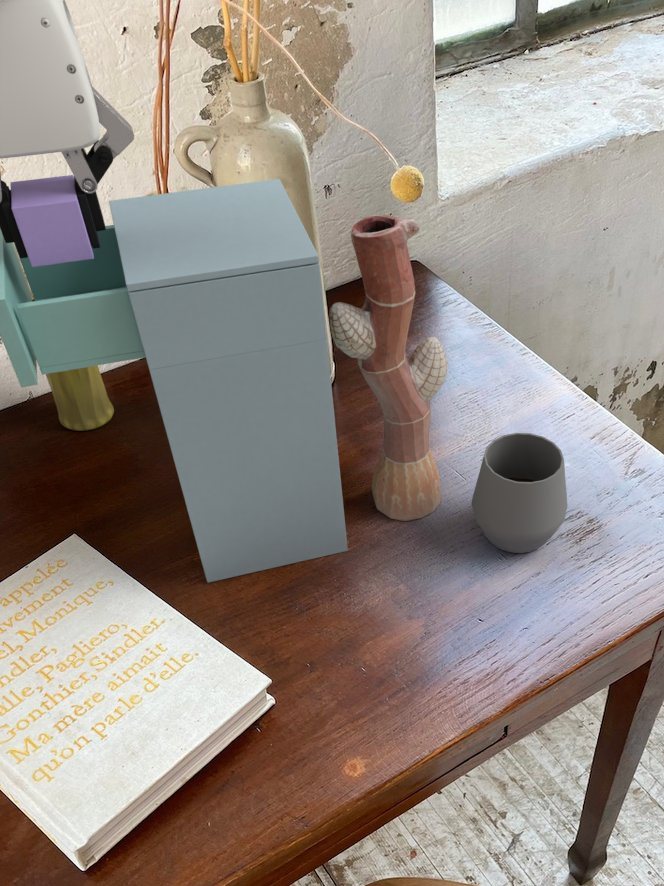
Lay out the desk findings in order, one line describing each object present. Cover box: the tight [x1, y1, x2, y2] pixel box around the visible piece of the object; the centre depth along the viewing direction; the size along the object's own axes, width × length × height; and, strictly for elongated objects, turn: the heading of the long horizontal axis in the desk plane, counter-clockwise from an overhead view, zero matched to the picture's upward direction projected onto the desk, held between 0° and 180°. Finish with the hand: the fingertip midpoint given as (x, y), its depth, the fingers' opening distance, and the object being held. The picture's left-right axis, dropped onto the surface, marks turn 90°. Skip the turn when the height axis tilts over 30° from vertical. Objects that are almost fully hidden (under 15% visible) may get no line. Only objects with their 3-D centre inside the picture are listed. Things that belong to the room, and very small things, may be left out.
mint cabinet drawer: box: [0, 224, 146, 388], centre depth 70 cm, size 19×14×7 cm
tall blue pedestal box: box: [108, 178, 349, 584], centre depth 82 cm, size 14×14×31 cm
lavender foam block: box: [9, 174, 94, 267], centre depth 66 cm, size 4×4×4 cm
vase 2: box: [328, 214, 448, 522], centre depth 85 cm, size 10×7×30 cm
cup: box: [471, 432, 568, 554], centre depth 89 cm, size 10×9×10 cm
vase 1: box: [32, 295, 115, 432], centre depth 99 cm, size 6×6×14 cm
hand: (59, 242), depth 67 cm, fingers closed on lavender foam block, 4 cm apart
